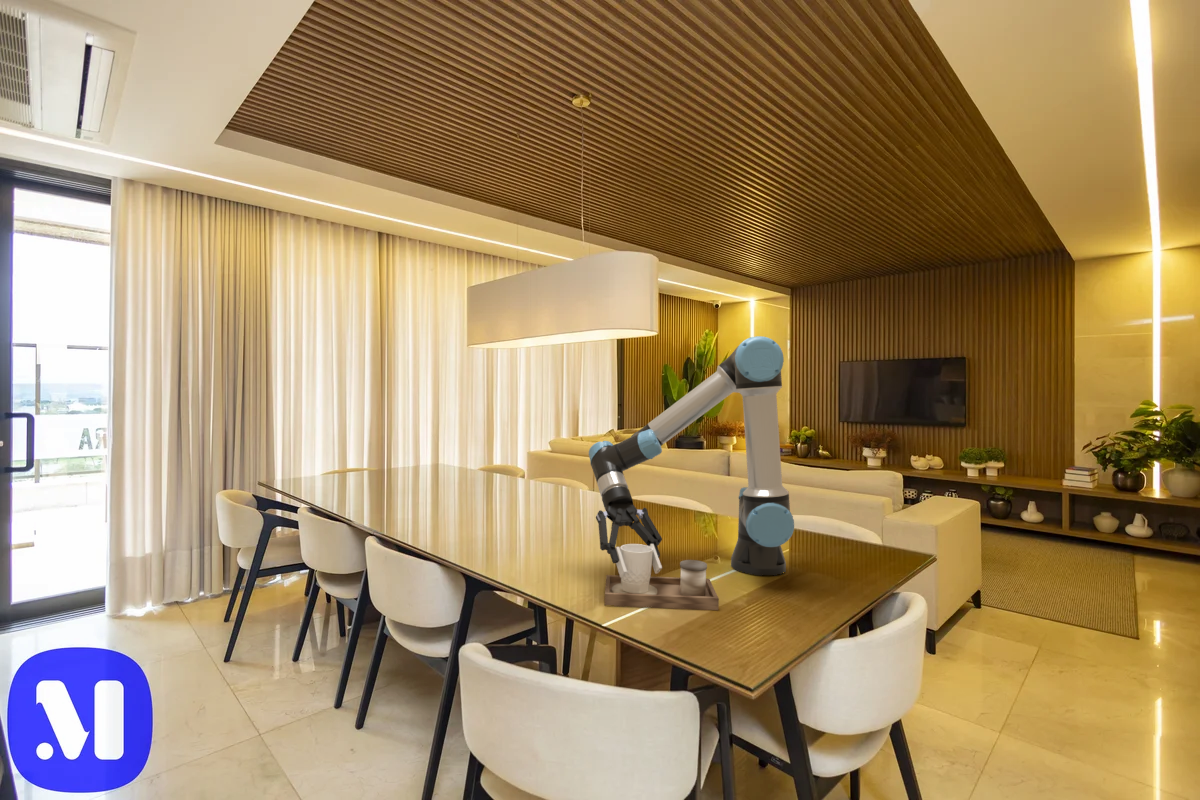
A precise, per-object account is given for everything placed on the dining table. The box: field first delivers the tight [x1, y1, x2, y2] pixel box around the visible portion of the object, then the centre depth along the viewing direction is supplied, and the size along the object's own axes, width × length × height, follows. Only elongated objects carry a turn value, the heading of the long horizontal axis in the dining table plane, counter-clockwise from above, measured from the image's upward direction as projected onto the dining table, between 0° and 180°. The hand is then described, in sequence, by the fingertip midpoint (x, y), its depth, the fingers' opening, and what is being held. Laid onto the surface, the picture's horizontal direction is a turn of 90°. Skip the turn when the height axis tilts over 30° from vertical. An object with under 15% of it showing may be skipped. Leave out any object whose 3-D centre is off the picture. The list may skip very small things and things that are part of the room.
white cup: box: [619, 543, 653, 594], centre depth 139 cm, size 8×8×10 cm
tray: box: [604, 559, 720, 611], centre depth 138 cm, size 26×14×8 cm, turn 88°
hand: (641, 572), depth 136 cm, fingers open, 9 cm apart
